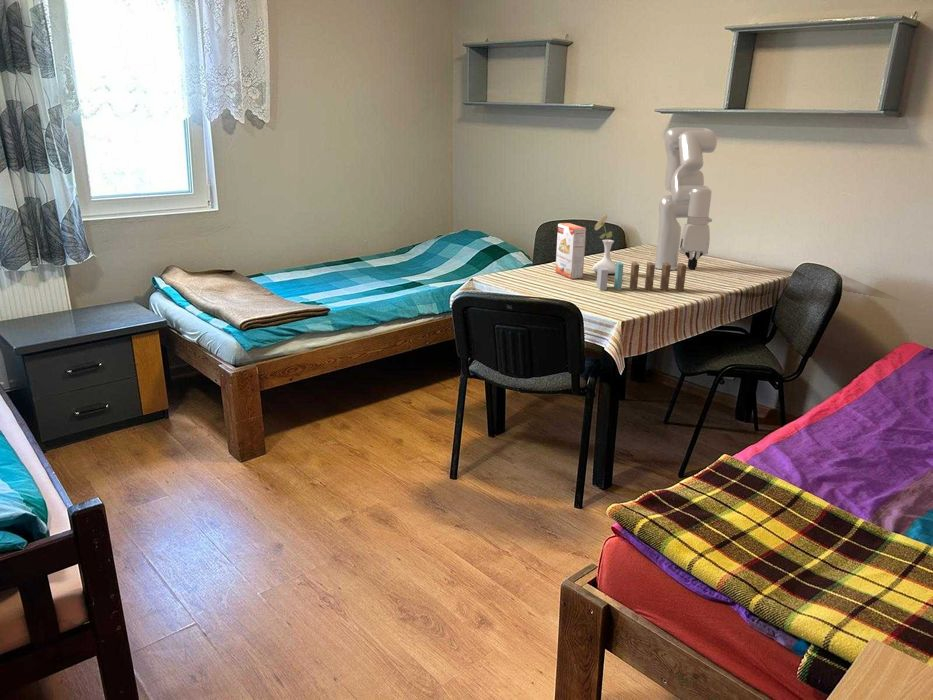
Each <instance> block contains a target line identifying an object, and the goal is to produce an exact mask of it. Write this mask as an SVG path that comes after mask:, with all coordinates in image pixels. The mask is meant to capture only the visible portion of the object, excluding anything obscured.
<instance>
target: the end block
mask: <svg viewBox="0 0 933 700" xmlns="http://www.w3.org/2000/svg"><path fill="white" fill-rule="evenodd" d="M596 274H597V275H596V285H597V286H596V287H597V289H598V288H599V289H598V290H599V291H600V290H607V289H608V280H609V279H608V276H609V274H608V269H607V268H606V267H605V266H598V271H597V272H596Z"/></svg>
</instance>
